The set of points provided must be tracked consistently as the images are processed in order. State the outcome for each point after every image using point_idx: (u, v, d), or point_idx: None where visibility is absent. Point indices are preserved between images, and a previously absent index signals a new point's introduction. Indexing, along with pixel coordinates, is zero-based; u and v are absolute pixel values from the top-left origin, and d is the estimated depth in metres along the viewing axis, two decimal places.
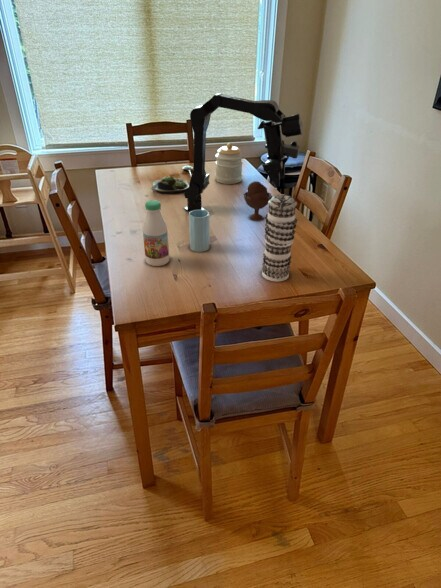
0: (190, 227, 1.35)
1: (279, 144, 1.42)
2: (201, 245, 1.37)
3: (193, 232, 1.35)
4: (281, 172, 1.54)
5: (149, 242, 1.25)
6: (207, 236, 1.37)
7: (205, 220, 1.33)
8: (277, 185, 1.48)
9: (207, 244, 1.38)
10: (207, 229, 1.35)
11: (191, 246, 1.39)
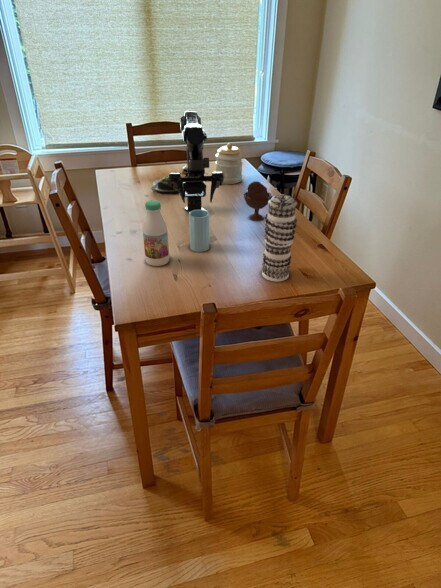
0: (190, 227, 1.35)
1: (188, 161, 1.40)
2: (201, 245, 1.37)
3: (193, 232, 1.35)
4: (210, 195, 1.41)
5: (149, 242, 1.25)
6: (207, 236, 1.37)
7: (205, 220, 1.33)
8: (183, 201, 1.40)
9: (207, 244, 1.38)
10: (207, 229, 1.35)
11: (191, 246, 1.39)
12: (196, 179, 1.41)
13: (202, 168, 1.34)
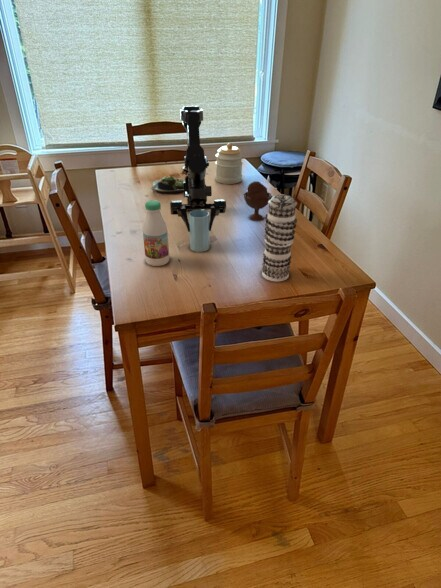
0: (190, 227, 1.35)
1: (190, 189, 1.36)
2: (201, 245, 1.37)
3: (193, 232, 1.35)
4: None
5: (149, 242, 1.25)
6: (207, 236, 1.37)
7: (205, 220, 1.33)
8: None
9: (207, 244, 1.38)
10: (207, 229, 1.35)
11: (191, 246, 1.39)
12: (201, 207, 1.37)
13: (204, 197, 1.31)
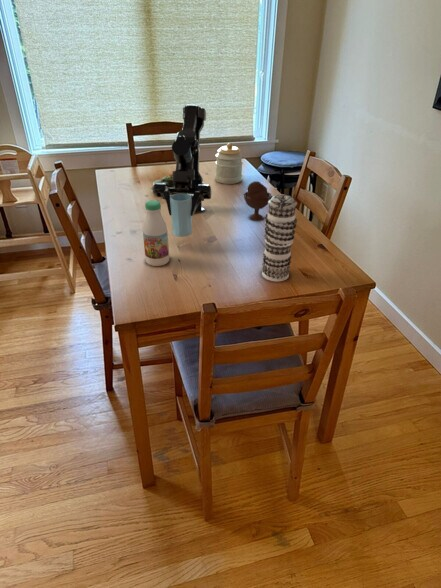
0: (171, 210, 1.32)
1: None
2: (182, 229, 1.34)
3: (173, 216, 1.32)
4: (192, 208, 1.33)
5: (149, 242, 1.25)
6: (188, 221, 1.33)
7: (186, 204, 1.29)
8: (169, 213, 1.33)
9: (188, 229, 1.35)
10: (188, 214, 1.32)
11: (172, 230, 1.36)
12: (185, 191, 1.34)
13: (185, 180, 1.27)
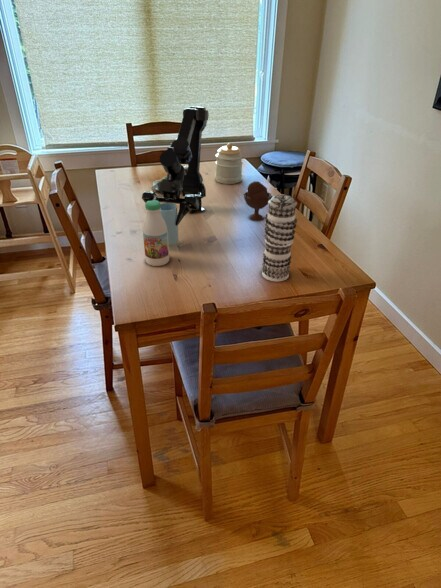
0: None
1: None
2: None
3: None
4: None
5: (149, 242, 1.25)
6: (173, 230, 1.35)
7: (170, 214, 1.32)
8: None
9: (173, 238, 1.37)
10: (172, 223, 1.34)
11: None
12: (173, 201, 1.36)
13: (170, 190, 1.30)
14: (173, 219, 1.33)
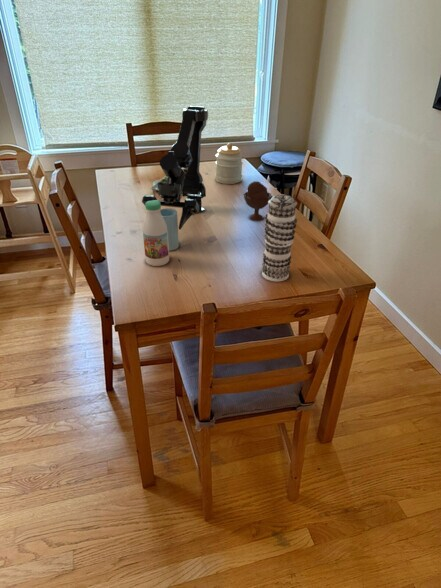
0: None
1: None
2: None
3: None
4: None
5: (149, 242, 1.25)
6: (173, 236, 1.36)
7: (170, 220, 1.33)
8: None
9: (173, 244, 1.38)
10: (173, 229, 1.35)
11: None
12: (170, 204, 1.37)
13: (170, 194, 1.30)
14: (173, 225, 1.34)
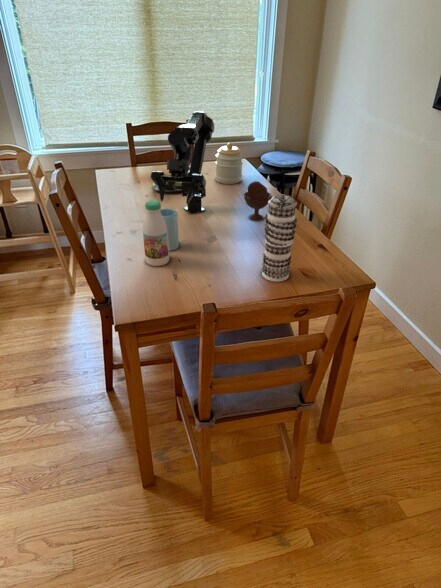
0: None
1: None
2: None
3: None
4: None
5: (149, 242, 1.25)
6: (173, 236, 1.36)
7: (170, 220, 1.33)
8: None
9: (173, 244, 1.38)
10: (173, 229, 1.35)
11: None
12: (178, 179, 1.41)
13: (178, 169, 1.34)
14: (173, 225, 1.34)
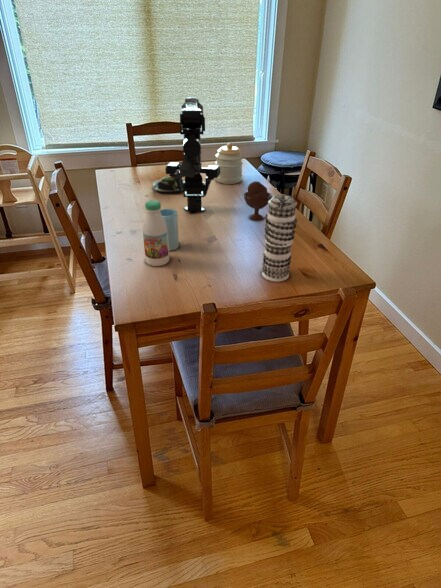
0: None
1: None
2: None
3: None
4: None
5: (149, 242, 1.25)
6: (173, 236, 1.36)
7: (170, 220, 1.33)
8: None
9: (173, 244, 1.38)
10: (173, 229, 1.35)
11: None
12: None
13: (192, 176, 1.37)
14: (173, 225, 1.34)
